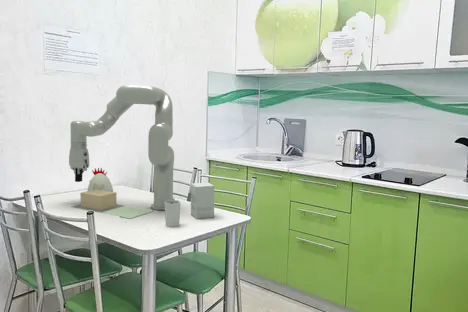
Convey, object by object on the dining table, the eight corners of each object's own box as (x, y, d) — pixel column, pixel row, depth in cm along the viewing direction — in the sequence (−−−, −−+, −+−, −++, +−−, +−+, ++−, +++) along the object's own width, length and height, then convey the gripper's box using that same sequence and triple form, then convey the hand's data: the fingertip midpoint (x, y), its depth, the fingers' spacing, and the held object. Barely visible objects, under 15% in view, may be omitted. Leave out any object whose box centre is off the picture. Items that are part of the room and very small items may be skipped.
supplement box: (208, 212, 196) (209, 182, 195) (214, 217, 188) (214, 185, 186) (190, 214, 193) (190, 183, 191) (195, 219, 185) (195, 186, 183)
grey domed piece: (89, 191, 240) (89, 166, 239) (114, 190, 243) (113, 165, 241) (85, 196, 227) (85, 169, 225) (111, 195, 229) (110, 169, 228)
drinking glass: (161, 224, 174) (161, 202, 173) (171, 221, 180) (172, 199, 179) (173, 227, 171) (173, 204, 170) (183, 224, 176) (183, 201, 175)
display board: (153, 211, 196) (153, 210, 196) (130, 219, 182) (130, 218, 182) (95, 201, 215) (95, 200, 215) (70, 207, 201) (70, 206, 201)
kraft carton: (116, 206, 204) (116, 192, 203) (101, 210, 195) (101, 196, 194) (96, 202, 210) (96, 189, 209) (80, 206, 201) (80, 192, 201)
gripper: (95, 146, 205) (95, 182, 207) (74, 143, 212) (74, 178, 214) (83, 147, 198) (83, 184, 201) (62, 144, 205) (62, 180, 208)
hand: (78, 181), depth 207 cm, fingers closed
